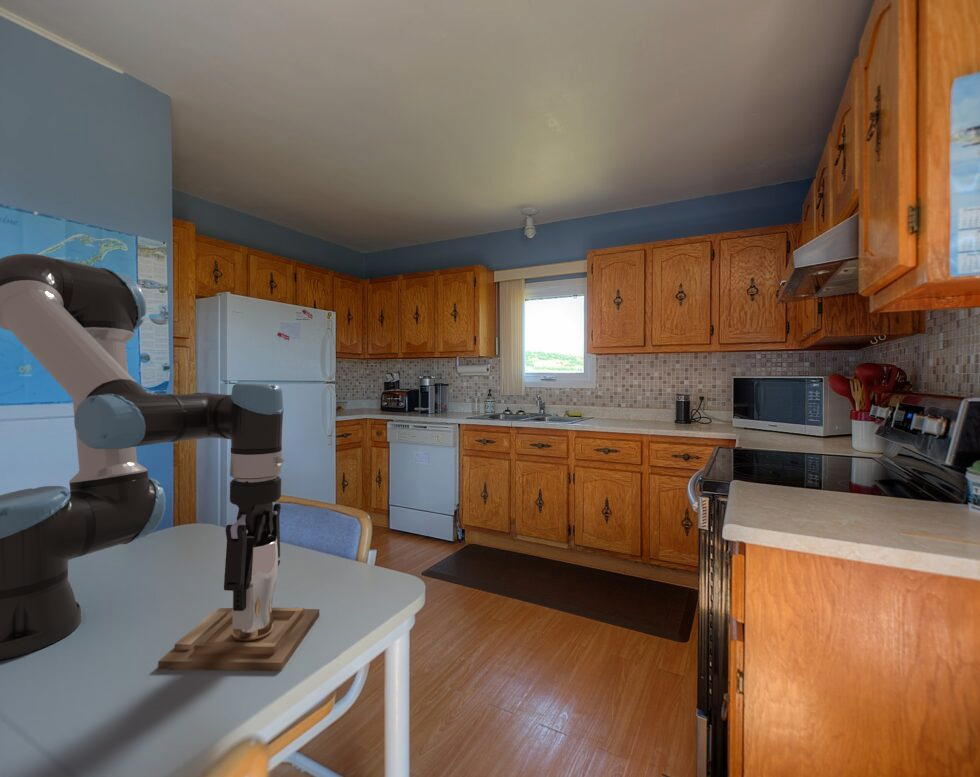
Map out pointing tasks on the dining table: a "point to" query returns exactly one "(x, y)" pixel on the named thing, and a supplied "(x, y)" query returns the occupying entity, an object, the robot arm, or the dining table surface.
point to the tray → (240, 643)
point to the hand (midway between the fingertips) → (253, 616)
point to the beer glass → (261, 591)
